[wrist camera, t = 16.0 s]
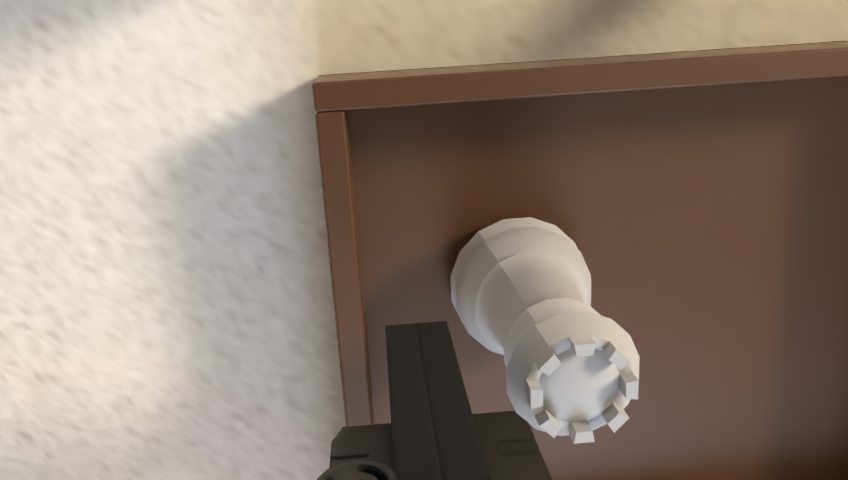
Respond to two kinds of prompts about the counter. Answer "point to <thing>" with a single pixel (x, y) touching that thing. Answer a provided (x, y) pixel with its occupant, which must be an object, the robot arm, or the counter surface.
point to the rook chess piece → (545, 328)
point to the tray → (617, 239)
